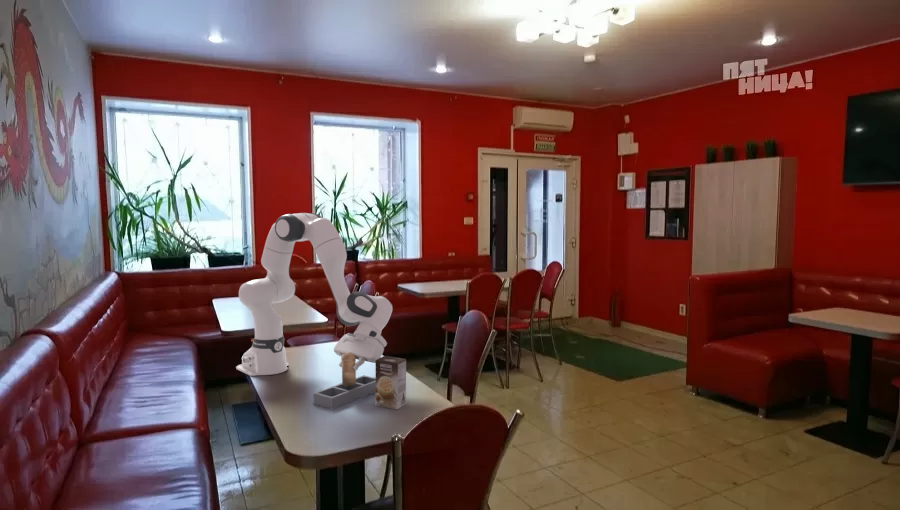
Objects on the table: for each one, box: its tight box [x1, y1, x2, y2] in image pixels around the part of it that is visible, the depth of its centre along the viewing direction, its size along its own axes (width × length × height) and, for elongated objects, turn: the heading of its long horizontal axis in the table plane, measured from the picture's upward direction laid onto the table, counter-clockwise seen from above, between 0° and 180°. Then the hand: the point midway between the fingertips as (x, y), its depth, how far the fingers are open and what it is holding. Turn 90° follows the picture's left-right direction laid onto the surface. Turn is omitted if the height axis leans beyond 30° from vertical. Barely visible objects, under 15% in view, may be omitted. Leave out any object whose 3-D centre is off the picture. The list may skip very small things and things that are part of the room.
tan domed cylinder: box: [341, 352, 357, 386], centre depth 192 cm, size 5×5×11 cm
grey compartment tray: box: [313, 375, 376, 410], centre depth 193 cm, size 9×25×4 cm, turn 146°
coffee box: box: [375, 355, 407, 410], centre depth 184 cm, size 9×6×16 cm
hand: (347, 368), depth 192 cm, fingers closed on tan domed cylinder, 5 cm apart
